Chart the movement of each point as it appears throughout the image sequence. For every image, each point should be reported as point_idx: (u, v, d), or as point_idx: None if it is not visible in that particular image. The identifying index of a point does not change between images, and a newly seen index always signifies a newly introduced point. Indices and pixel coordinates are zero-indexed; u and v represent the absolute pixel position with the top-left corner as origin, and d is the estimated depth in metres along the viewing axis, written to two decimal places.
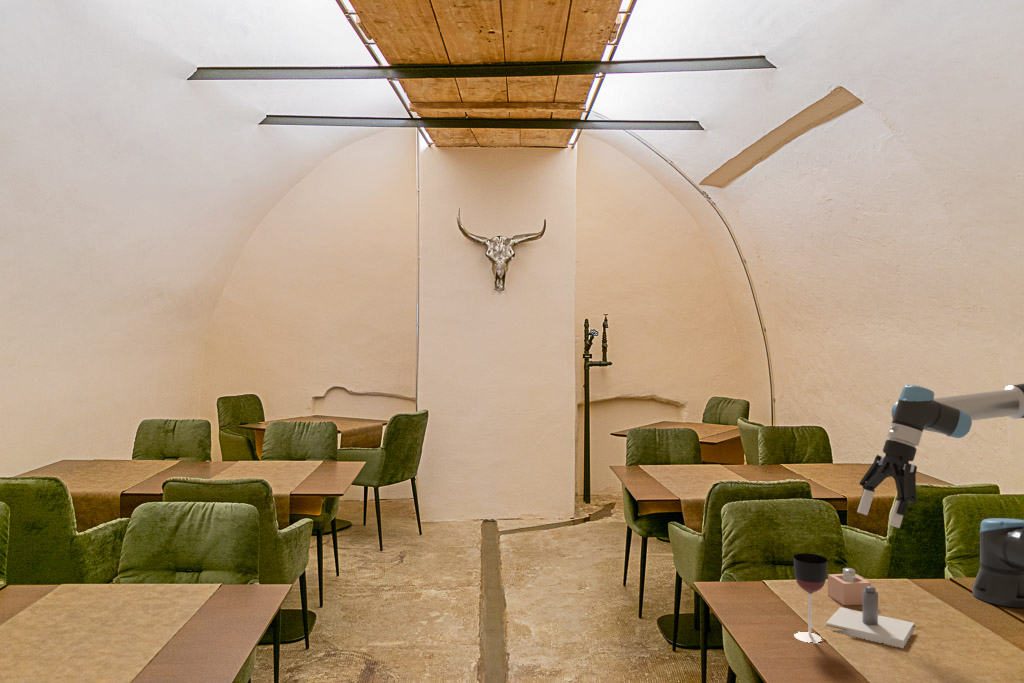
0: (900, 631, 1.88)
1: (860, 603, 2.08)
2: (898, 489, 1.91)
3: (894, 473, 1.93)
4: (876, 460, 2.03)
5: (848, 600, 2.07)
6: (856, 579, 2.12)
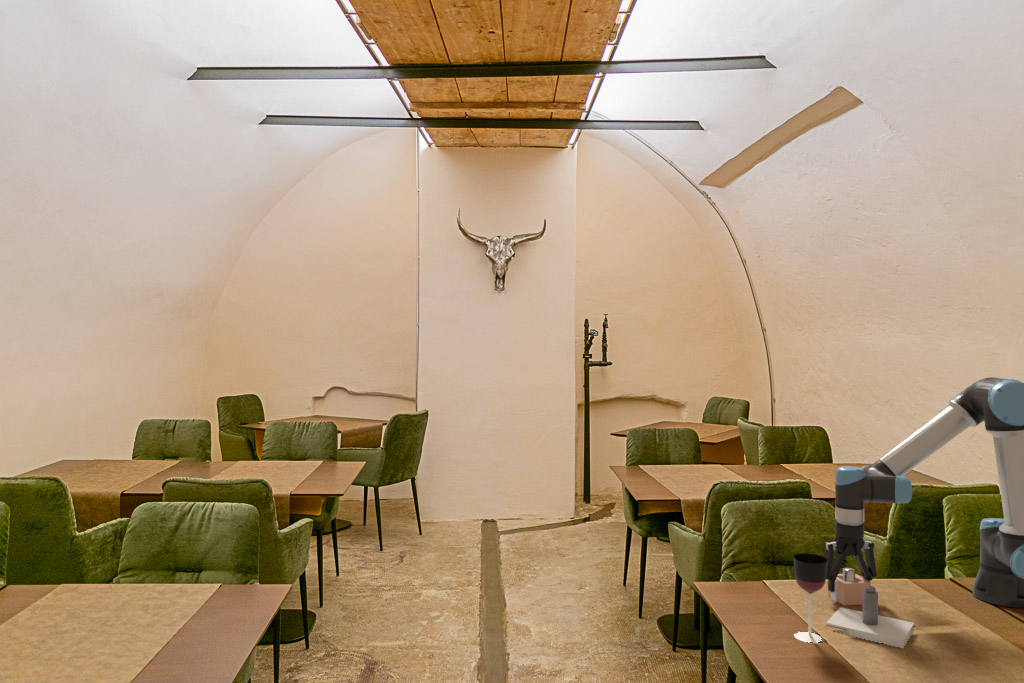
0: (900, 631, 1.88)
1: (860, 603, 2.08)
2: None
3: None
4: None
5: (848, 600, 2.07)
6: (856, 579, 2.12)
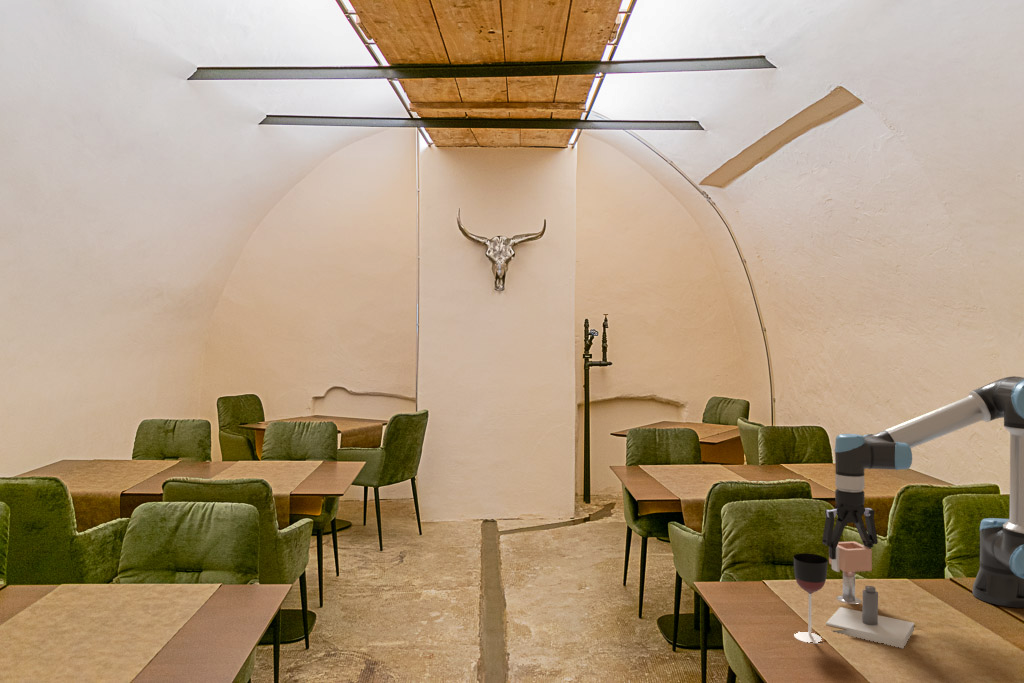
0: (900, 631, 1.88)
1: (861, 570, 2.07)
2: None
3: None
4: None
5: (849, 566, 2.07)
6: (857, 546, 2.12)
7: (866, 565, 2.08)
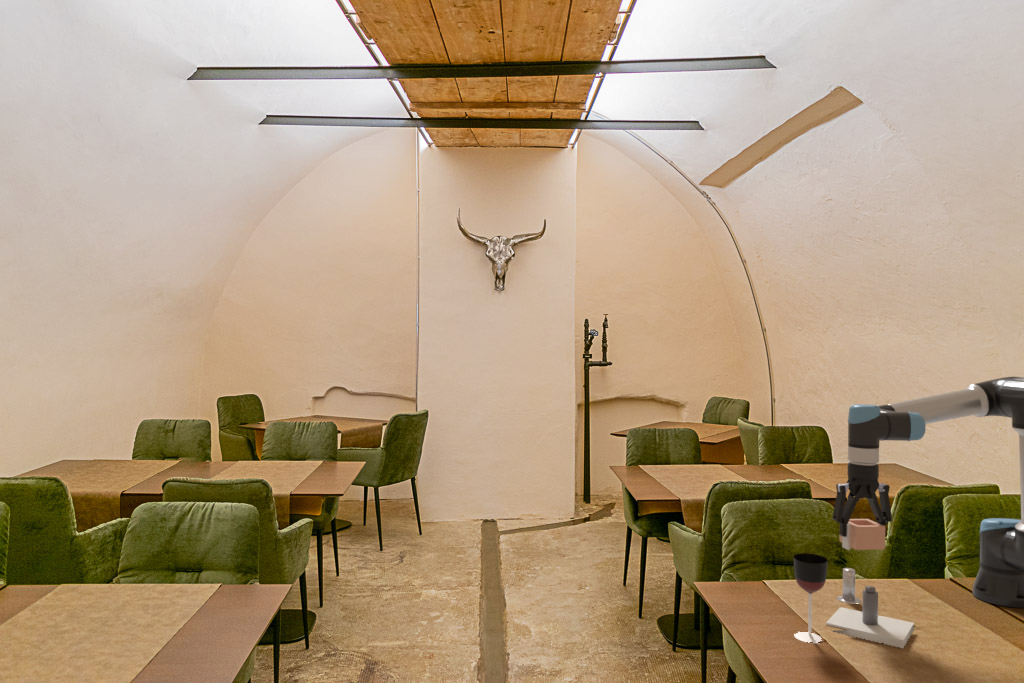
0: (900, 631, 1.88)
1: (874, 548, 1.95)
2: None
3: None
4: None
5: (861, 544, 1.95)
6: (870, 524, 2.00)
7: (879, 543, 1.95)
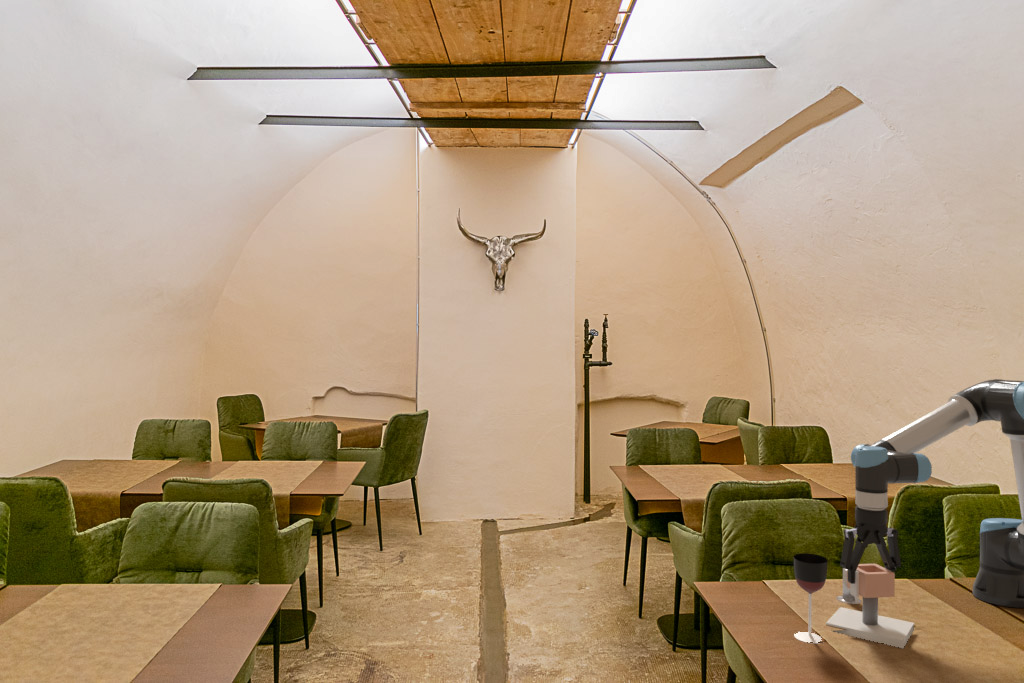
0: (900, 631, 1.88)
1: (883, 596, 1.89)
2: None
3: None
4: None
5: (870, 592, 1.89)
6: (878, 569, 1.94)
7: (888, 590, 1.89)
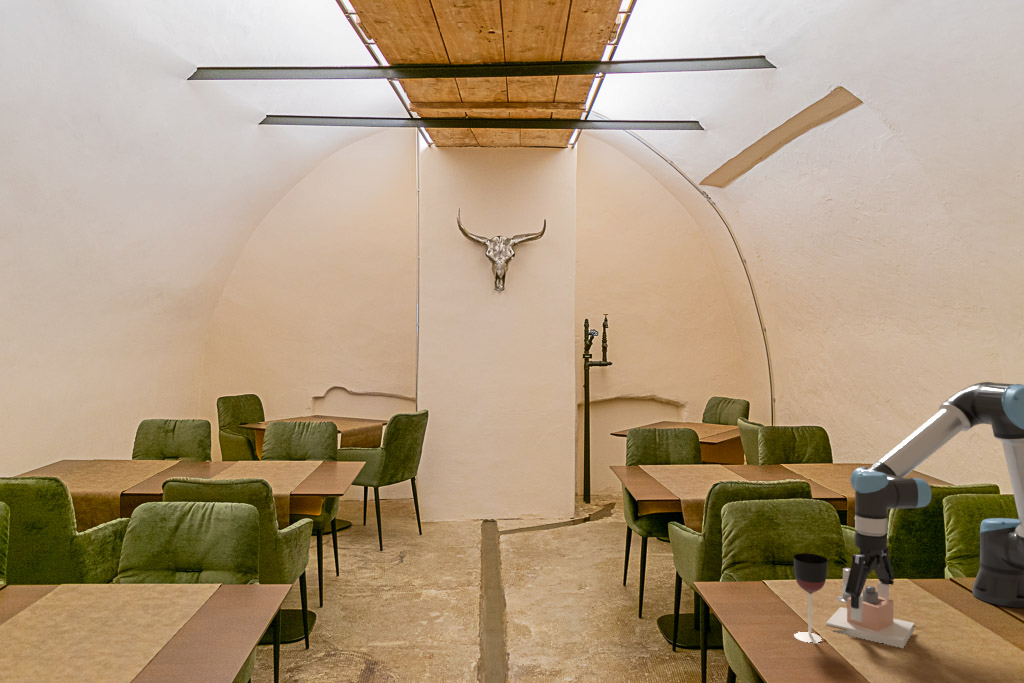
0: (900, 631, 1.88)
1: (887, 625, 1.91)
2: None
3: None
4: None
5: (880, 624, 1.89)
6: None
7: (890, 619, 1.92)
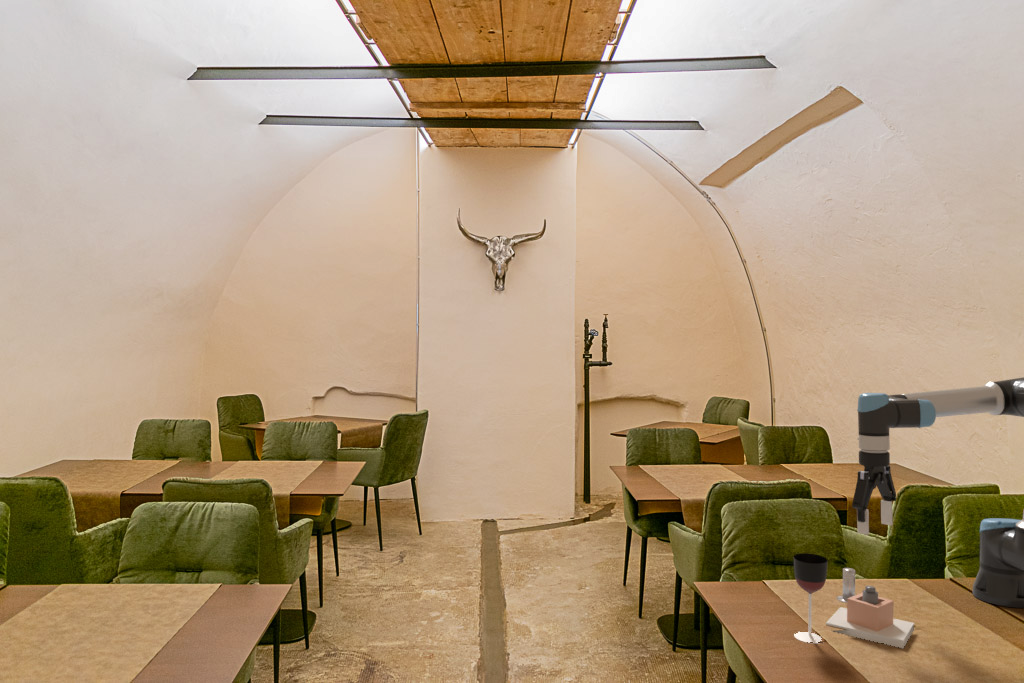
0: (900, 631, 1.88)
1: (887, 625, 1.91)
2: None
3: None
4: None
5: (880, 624, 1.89)
6: None
7: (890, 619, 1.92)
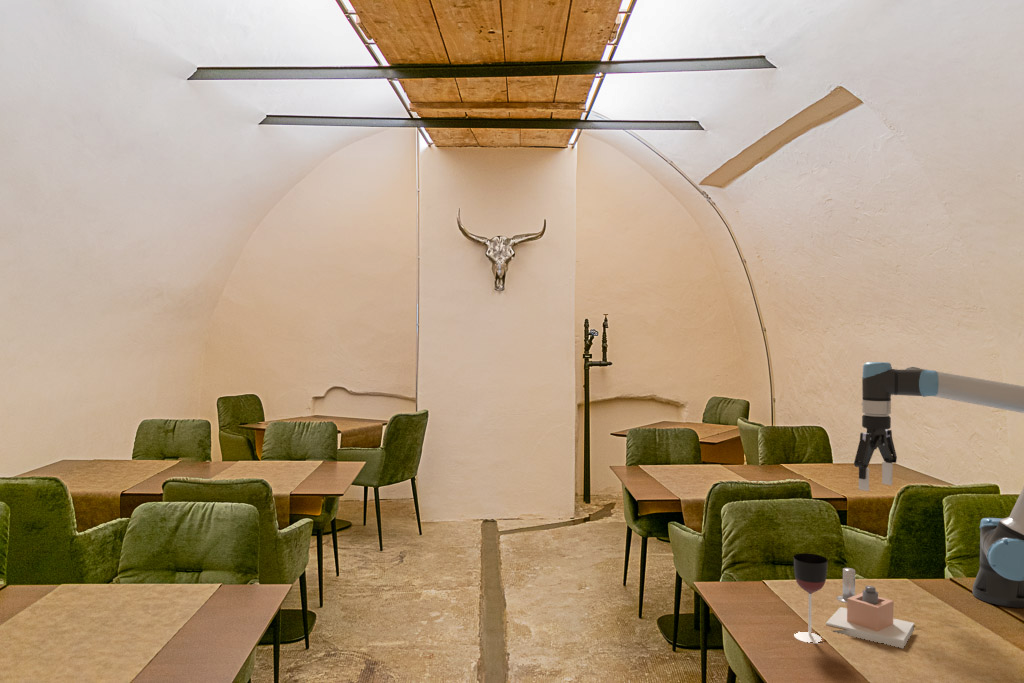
0: (900, 631, 1.88)
1: (887, 625, 1.91)
2: None
3: None
4: None
5: (880, 624, 1.89)
6: None
7: (890, 619, 1.92)
